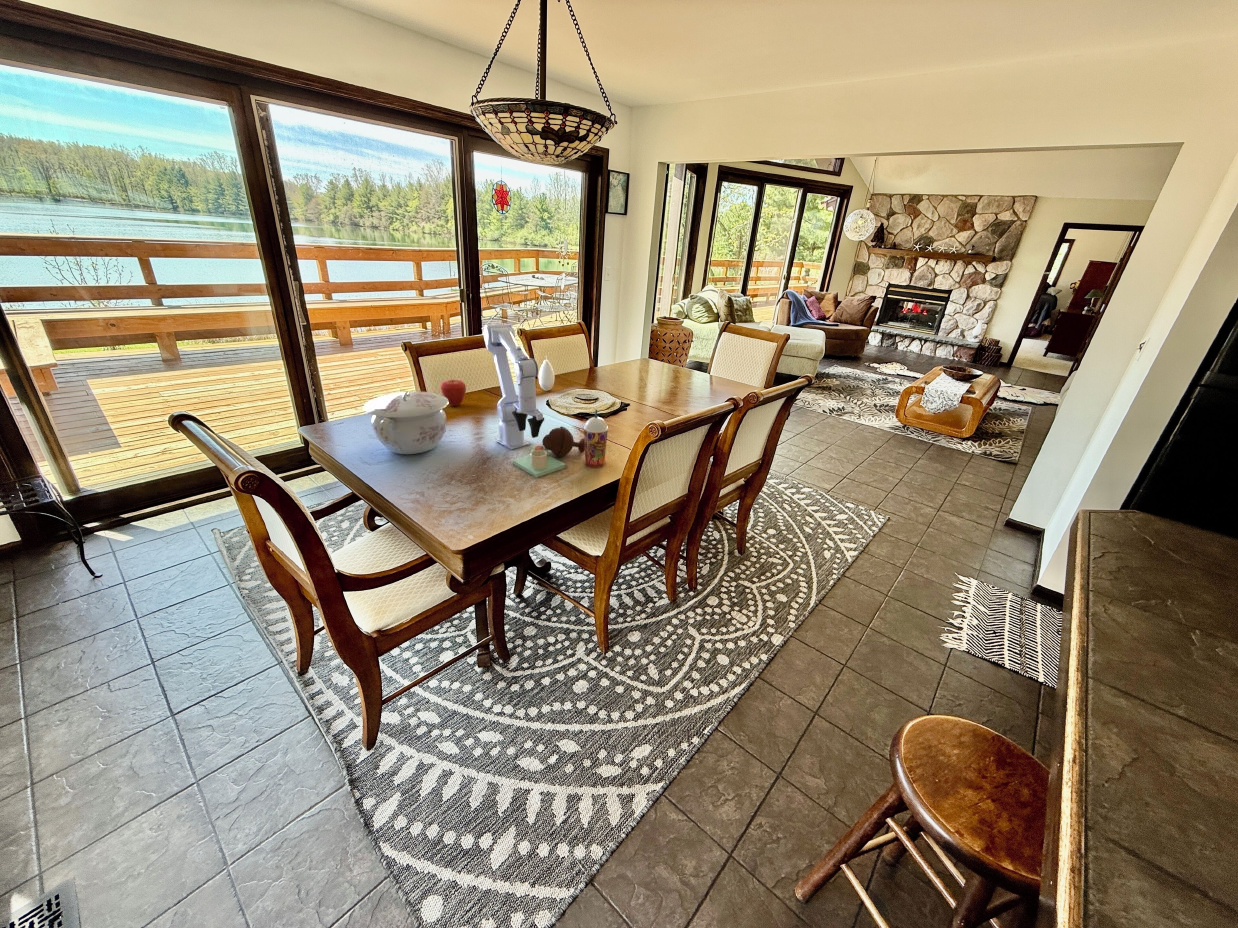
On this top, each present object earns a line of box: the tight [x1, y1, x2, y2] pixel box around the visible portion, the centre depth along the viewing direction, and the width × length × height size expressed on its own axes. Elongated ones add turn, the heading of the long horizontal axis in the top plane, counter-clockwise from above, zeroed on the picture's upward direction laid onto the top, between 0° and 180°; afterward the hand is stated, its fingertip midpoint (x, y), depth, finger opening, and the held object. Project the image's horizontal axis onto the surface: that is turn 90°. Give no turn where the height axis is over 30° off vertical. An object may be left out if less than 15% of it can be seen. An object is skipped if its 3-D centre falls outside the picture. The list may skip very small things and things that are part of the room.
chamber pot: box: [363, 390, 449, 455], centre depth 170 cm, size 28×28×21 cm
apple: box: [439, 379, 467, 407], centre depth 215 cm, size 11×11×12 cm
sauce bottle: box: [538, 355, 556, 392], centre depth 240 cm, size 8×8×18 cm
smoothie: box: [583, 409, 609, 468], centre depth 164 cm, size 8×8×20 cm
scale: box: [512, 447, 566, 479], centre depth 165 cm, size 14×12×3 cm
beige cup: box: [529, 450, 548, 470], centre depth 160 cm, size 6×6×5 cm
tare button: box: [534, 445, 544, 450], centre depth 169 cm, size 3×3×2 cm
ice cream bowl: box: [541, 425, 585, 458], centre depth 172 cm, size 11×11×15 cm
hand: (528, 433), depth 166 cm, fingers open, 7 cm apart
